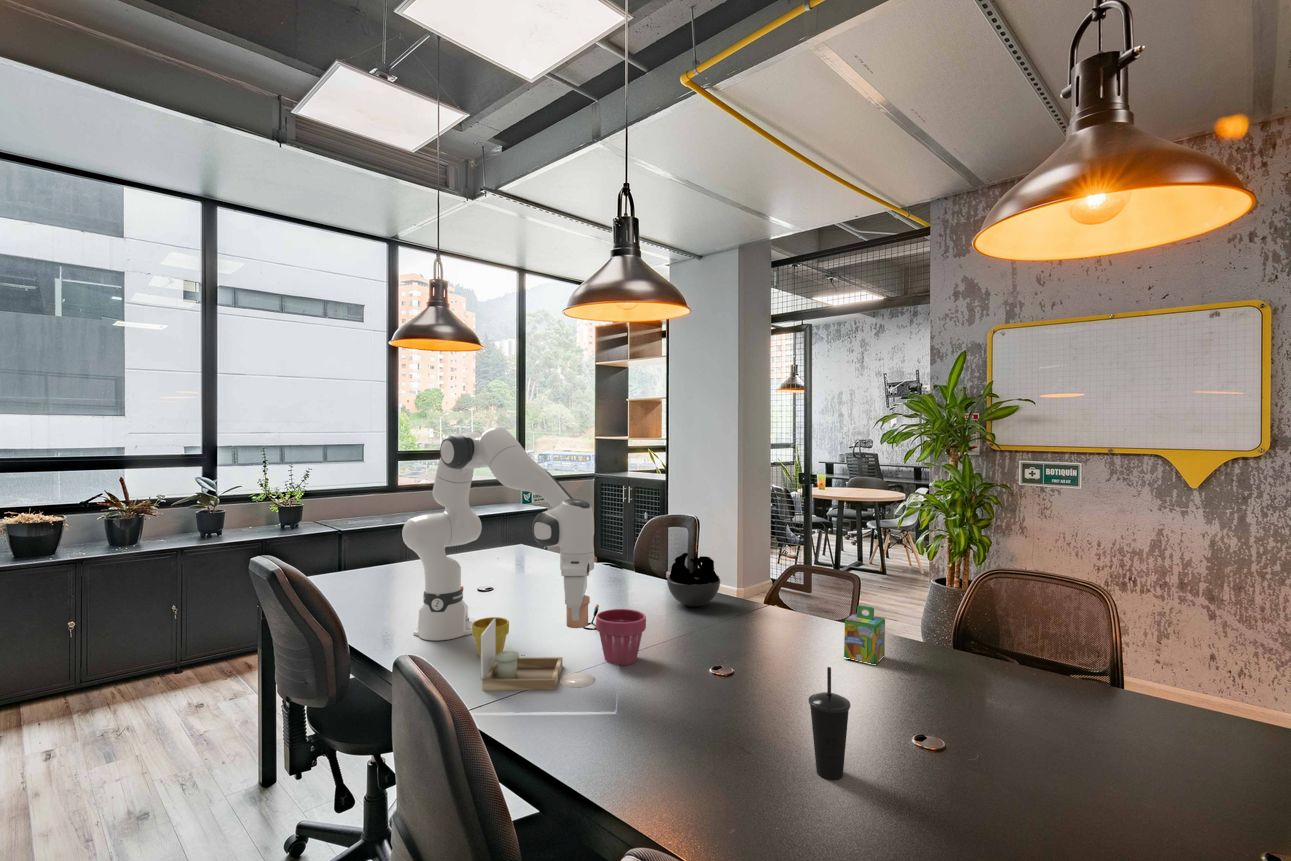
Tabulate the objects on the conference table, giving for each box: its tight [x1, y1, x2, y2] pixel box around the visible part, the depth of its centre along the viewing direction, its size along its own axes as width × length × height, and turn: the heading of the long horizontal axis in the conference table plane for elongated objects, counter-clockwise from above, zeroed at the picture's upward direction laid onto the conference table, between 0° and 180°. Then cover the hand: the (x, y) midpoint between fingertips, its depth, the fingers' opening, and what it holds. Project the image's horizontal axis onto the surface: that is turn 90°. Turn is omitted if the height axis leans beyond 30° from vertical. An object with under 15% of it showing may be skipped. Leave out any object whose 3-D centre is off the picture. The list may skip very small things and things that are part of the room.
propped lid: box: [480, 619, 496, 682], centre depth 163 cm, size 14×1×11 cm, turn 1°
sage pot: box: [496, 650, 520, 679], centre depth 163 cm, size 6×6×6 cm
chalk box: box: [843, 605, 886, 665], centre depth 178 cm, size 9×9×15 cm
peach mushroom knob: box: [564, 595, 591, 629], centre depth 161 cm, size 6×6×7 cm
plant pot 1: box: [471, 616, 510, 658], centre depth 181 cm, size 10×10×10 cm
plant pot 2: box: [595, 608, 647, 666], centre depth 177 cm, size 14×14×13 cm
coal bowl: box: [666, 552, 721, 607], centre depth 234 cm, size 20×20×19 cm
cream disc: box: [559, 672, 595, 689], centre depth 161 cm, size 9×9×1 cm
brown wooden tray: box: [482, 656, 563, 692], centre depth 163 cm, size 16×18×3 cm
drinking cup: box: [808, 666, 851, 781], centre depth 118 cm, size 8×8×20 cm
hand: (577, 615), depth 161 cm, fingers closed on peach mushroom knob, 6 cm apart
